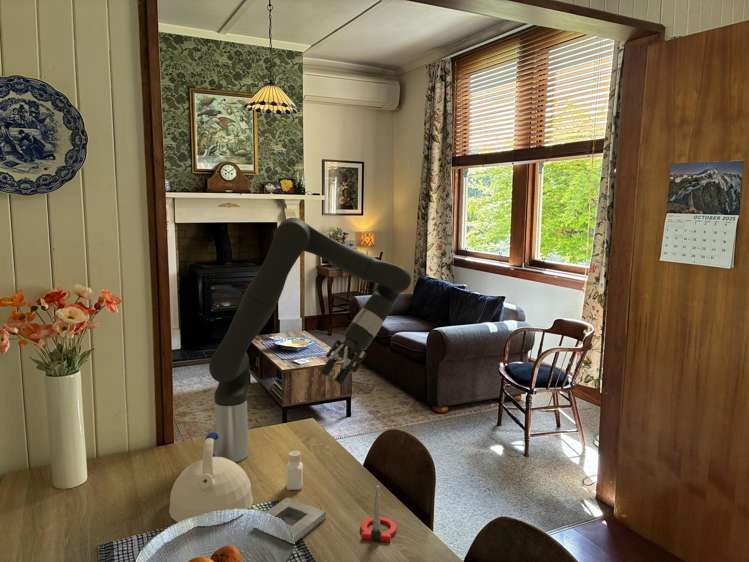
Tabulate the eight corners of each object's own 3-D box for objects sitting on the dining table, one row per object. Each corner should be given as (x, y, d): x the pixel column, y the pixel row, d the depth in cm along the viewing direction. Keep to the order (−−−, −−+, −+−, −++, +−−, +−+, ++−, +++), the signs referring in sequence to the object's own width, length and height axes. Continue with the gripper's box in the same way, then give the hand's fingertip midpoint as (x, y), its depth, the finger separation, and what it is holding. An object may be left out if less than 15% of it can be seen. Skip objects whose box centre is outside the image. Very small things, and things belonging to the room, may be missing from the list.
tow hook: (364, 519, 137) (357, 540, 128) (365, 468, 136) (358, 485, 127) (398, 522, 136) (394, 544, 127) (400, 471, 135) (395, 489, 126)
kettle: (160, 532, 130) (157, 458, 128) (177, 487, 151) (174, 422, 148) (250, 525, 134) (248, 453, 131) (255, 481, 154) (253, 418, 151)
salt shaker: (302, 490, 149) (301, 456, 148) (286, 490, 149) (286, 456, 148) (302, 482, 153) (302, 449, 152) (287, 483, 153) (287, 450, 152)
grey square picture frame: (253, 528, 132) (253, 520, 132) (287, 504, 142) (287, 497, 142) (293, 545, 126) (293, 536, 126) (325, 519, 136) (325, 511, 136)
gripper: (342, 317, 161) (309, 365, 157) (367, 325, 148) (332, 377, 145) (360, 331, 164) (328, 378, 160) (386, 341, 152) (352, 392, 148)
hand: (330, 378), depth 153 cm, fingers open, 8 cm apart
